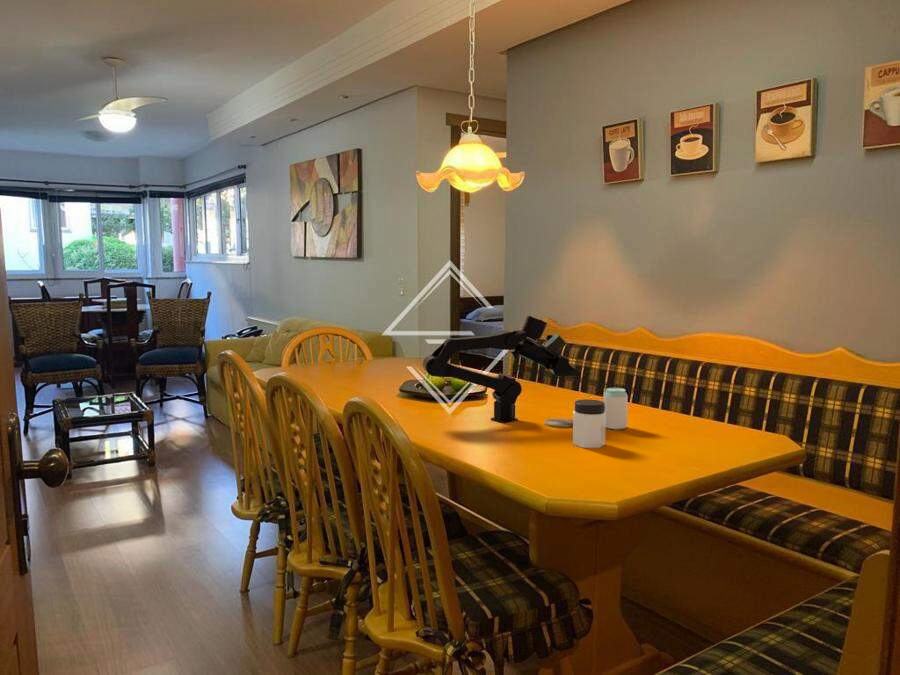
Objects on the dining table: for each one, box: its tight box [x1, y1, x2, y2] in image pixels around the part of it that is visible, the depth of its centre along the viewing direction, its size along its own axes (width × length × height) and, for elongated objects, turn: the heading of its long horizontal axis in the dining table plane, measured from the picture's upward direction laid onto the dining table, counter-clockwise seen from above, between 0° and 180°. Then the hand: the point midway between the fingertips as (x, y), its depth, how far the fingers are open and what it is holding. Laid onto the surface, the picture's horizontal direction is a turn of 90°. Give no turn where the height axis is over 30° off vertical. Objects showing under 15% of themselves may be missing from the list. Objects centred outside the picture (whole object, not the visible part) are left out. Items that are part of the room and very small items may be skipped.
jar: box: [572, 398, 606, 449], centre depth 188 cm, size 9×8×12 cm
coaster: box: [544, 417, 573, 429], centre depth 212 cm, size 10×10×1 cm
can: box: [603, 387, 629, 431], centre depth 206 cm, size 7×7×12 cm
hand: (575, 372), depth 219 cm, fingers open, 9 cm apart
